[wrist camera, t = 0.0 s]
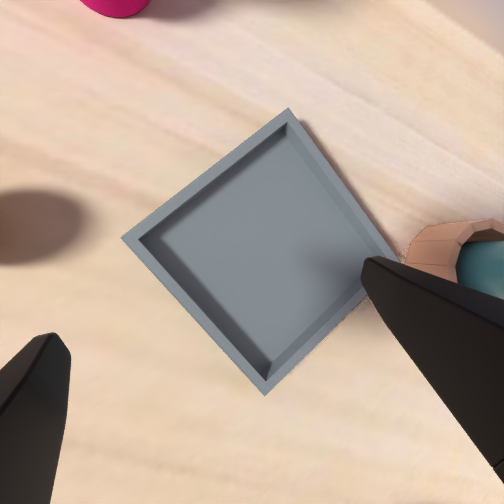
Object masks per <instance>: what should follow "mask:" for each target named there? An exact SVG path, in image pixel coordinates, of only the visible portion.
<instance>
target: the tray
mask: <svg viewBox="0 0 504 504" xmlns="http://www.w3.org/2000/svg"><path fill="white" fill-rule="evenodd" d="M120 238H121V239H122V240H123V241H124V242H125V243H126V245H127V246H128V247H129V248H130V249H131V250H132V251H133V252H134V253H135V254H136V256H137V257H138V258H139V259H140V260H141V261H142V262H143V263H144V264H145V265H146V267H147V268H148V269H149V270H150V271H151V272H152V273H153V274H154V275H155V276H156V278H157V279H158V280H159V281H160V282H161V283H162V284H163V285H164V286H165V287H166V288H167V290H168V291H169V292H170V293H171V294H172V295H173V296H174V297H175V298H176V299H177V301H178V302H179V303H180V304H181V305H182V306H183V307H184V308H185V309H186V310H187V312H188V313H189V314H190V315H191V316H192V317H193V318H194V319H195V320H196V321H197V323H198V324H199V325H200V326H201V327H202V328H203V329H204V330H205V331H206V332H207V334H208V335H209V336H210V337H211V338H212V339H213V340H214V341H215V342H216V343H217V345H218V346H219V347H220V348H221V349H222V350H223V351H224V352H225V353H226V354H227V355H228V357H229V358H230V359H231V360H232V361H233V362H234V363H235V364H236V365H237V366H238V368H239V369H240V370H241V371H242V372H243V373H244V374H245V375H246V376H247V377H248V379H249V380H250V381H251V382H252V383H253V384H254V385H255V386H256V387H257V388H258V390H259V391H260V392H261V393H262V394H263V395H264V396H266V395H267V394H268V393H269V392H270V391H271V390H272V389H273V388H274V387H275V386H276V385H277V384H278V383H279V382H280V381H281V380H282V379H283V378H284V377H285V376H286V375H287V374H288V373H289V372H290V371H291V370H292V369H293V368H294V367H295V366H296V365H297V364H298V363H299V362H300V361H301V360H302V359H303V358H304V357H305V356H306V355H307V354H308V353H309V352H310V351H311V350H312V349H313V348H314V347H315V346H316V345H317V344H318V343H319V342H320V341H321V340H322V339H323V338H324V337H325V336H326V335H327V334H328V333H329V332H330V331H331V330H332V329H333V328H334V327H335V326H336V325H337V324H338V323H339V322H340V321H341V320H342V319H343V318H344V317H345V316H346V315H347V314H348V313H349V312H350V311H351V310H352V309H353V308H354V307H355V306H356V305H357V304H358V303H359V302H360V301H361V300H363V299H364V298H365V297H366V296H367V295H368V294H367V292H366V291H365V289H364V287H363V286H362V284H361V281H360V276H361V272H362V267H363V263H364V260H365V259H366V258H368V257H371V256H376V255H379V256H382V257H385V258H388V259H390V260H393V261H396V262H399V263H400V261H399V259H398V258H397V257H396V255H395V254H394V252H393V251H392V250H391V248H390V247H389V245H388V244H387V243H386V241H385V240H384V239H383V237H382V236H381V234H380V233H379V232H378V230H377V229H376V228H375V226H374V225H373V223H372V222H371V221H370V219H369V218H368V217H367V215H366V214H365V212H364V211H363V210H362V208H361V207H360V205H359V204H358V203H357V201H356V200H355V199H354V197H353V196H352V194H351V193H350V192H349V190H348V189H347V188H346V186H345V185H344V183H343V182H342V181H341V179H340V178H339V176H338V175H337V174H336V172H335V171H334V170H333V168H332V167H331V165H330V164H329V163H328V161H327V160H326V159H325V157H324V156H323V154H322V153H321V152H320V150H319V149H318V147H317V146H316V145H315V143H314V142H313V141H312V139H311V138H310V136H309V135H308V134H307V132H306V131H305V130H304V128H303V127H302V125H301V124H300V123H299V121H298V120H297V118H296V117H295V116H294V114H293V113H292V112H291V110H290V109H289V107H288V108H287V109H285V110H284V111H283V112H282V113H280V114H279V115H278V116H276V117H275V118H274V119H273V120H271V121H270V122H269V123H267V124H266V125H265V126H264V127H262V128H261V129H260V130H258V131H257V132H256V133H255V134H253V135H252V136H251V137H249V138H248V139H247V140H246V141H244V142H243V143H242V144H240V145H239V146H238V147H237V148H235V149H234V150H233V151H231V152H230V153H229V154H227V155H226V156H225V157H224V158H222V159H221V160H220V161H218V162H217V163H216V164H215V165H213V166H212V167H211V168H209V169H208V170H207V171H206V172H204V173H203V174H202V175H200V176H199V177H198V178H197V179H195V180H194V181H193V182H191V183H190V184H189V185H188V186H186V187H185V188H184V189H182V190H181V191H180V192H178V193H177V194H176V195H175V196H173V197H172V198H171V199H169V200H168V201H167V202H166V203H164V204H163V205H162V206H160V207H159V208H158V209H157V210H155V211H154V212H153V213H151V214H150V215H149V216H148V217H146V218H145V219H144V220H142V221H141V222H140V223H139V224H137V225H136V226H135V227H133V228H132V229H131V230H130V231H128V232H127V233H126V234H124V235H123V236H122V237H120Z"/></svg>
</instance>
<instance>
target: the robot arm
mask: <svg viewBox="0 0 504 504" xmlns="http://www.w3.org/2000/svg"><path fill="white" fill-rule="evenodd" d="M360 281H361V284H362V286H363V287H364V289H365V291H366V292H367V294H368V296H369V298H370V299H371V301H372V303H373V304H374V306H375V308H376V309H377V311H378V313H379V314H380V316H381V318H382V319H383V321H384V322H385V324H386V325H387V327H388V328H389V329H390V331H391V332H392V333H393V335H394V336H395V338H396V339H397V340H398V342H399V343H400V344H401V346H402V347H403V348H404V350H405V351H406V352H407V354H408V355H409V356H410V358H411V359H412V360H413V362H414V363H415V364H416V366H417V367H418V369H419V370H420V371H421V373H422V374H423V375H424V377H425V378H426V379H427V381H428V382H429V383H430V385H431V386H432V387H433V389H434V390H435V391H436V393H437V394H438V395H439V397H440V398H441V400H442V401H443V402H444V404H445V405H446V406H447V408H448V409H449V410H450V412H451V413H452V414H453V416H454V417H455V418H456V420H457V421H458V422H459V424H460V425H461V427H462V428H463V429H464V431H465V432H466V433H467V435H468V436H469V437H470V439H471V440H472V441H473V443H474V444H475V445H476V447H477V448H478V449H479V451H480V452H481V453H482V455H483V456H484V458H485V459H486V460H487V462H488V463H489V464H490V466H491V467H493V470H494V471H495V473H496V474H497V475H498V477H499V478H500V479H501V481H502V482H503V483H504V299H501V298H498V297H495V296H492V295H489V294H487V293H484V292H481V291H478V290H475V289H472V288H470V287H467V286H464V285H461V284H458V283H455V282H453V281H450V280H447V279H444V278H441V277H438V276H436V275H433V274H430V273H427V272H424V271H422V270H419V269H416V268H413V267H410V266H407V265H405V264H402V263H399V262H396V261H393V260H390V259H388V258H385V257H382V256H379V255H376V256H371V257H368V258H366V259H365V260H364V263H363V267H362V272H361V276H360ZM70 370H71V354H70V351H69V350H68V348H67V347H66V345H65V344H64V343H63V341H62V340H61V338H60V337H59V336H58V334H56V333H54V332H51V333H47V334H43V335H38V336H36V337H34V338H33V339H32V340H31V341H30V342H29V343H28V344H27V345H26V346H25V347H24V348H23V349H21V350H20V351H19V352H18V353H17V354H16V355H15V356H14V357H13V358H12V359H11V360H10V361H9V362H8V363H7V364H6V365H5V366H4V367H3V368H2V369H1V370H0V504H50V501H51V496H52V491H53V486H54V480H55V475H56V470H57V465H58V460H59V455H60V450H61V445H62V440H63V435H64V430H65V424H66V417H67V408H68V395H69V382H70Z"/></svg>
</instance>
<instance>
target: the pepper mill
mask: <svg viewBox="0 0 504 504" xmlns="http://www.w3.org/2000/svg"><path fill="white" fill-rule="evenodd" d="M80 1H81V2H82V3H84V4H85V5H86V6H87V7H89V8H90V9H92V10H94V11H96V12H98V13H100V14H102V15H106V16H111V17H126V16H130V15H134V14H136V13H137V12H139V11H140V10H142V9H143V8H144V7H145V6H146V5H147V4H148V2H149V0H80Z"/></svg>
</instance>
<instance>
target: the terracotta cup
mask: <svg viewBox="0 0 504 504" xmlns="http://www.w3.org/2000/svg"><path fill="white" fill-rule="evenodd" d="M473 241H504V224H502V223H500V222H498V221H496V220H494V219H483V220H473V221H463V222H453V223H444V224H439V225H434V226H428V227H426V228H425V229H424V230H423V231H422V232H421V233H420V234H419V235H418V236H417V237H416V238H415V239H414V240H413V241H412V242H411V245H410V248H409V252H408V255H407V258H406V261H405V265H407V266H410V267H413V268H416V269H419V270H422V271H424V272H427V273H430V274H433V275H436V276H438V277H441V278H444V279H447V280H450V281H453V282H455V283H457V276H456V268H455V265H456V262H457V259H458V255H459V252H460V249H461V245H462V244H463V243H464V242H473Z"/></svg>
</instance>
